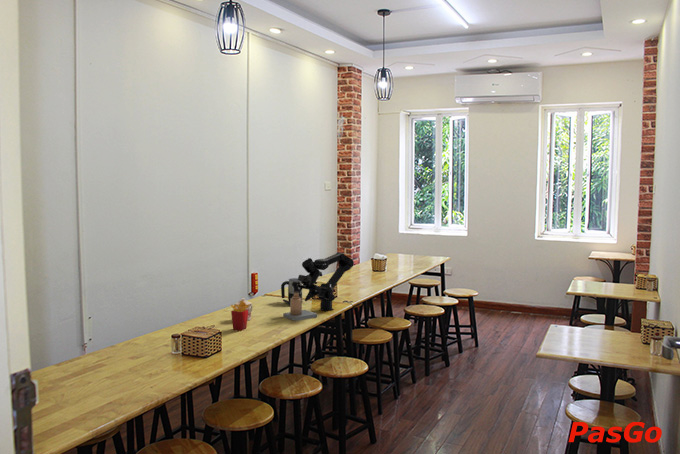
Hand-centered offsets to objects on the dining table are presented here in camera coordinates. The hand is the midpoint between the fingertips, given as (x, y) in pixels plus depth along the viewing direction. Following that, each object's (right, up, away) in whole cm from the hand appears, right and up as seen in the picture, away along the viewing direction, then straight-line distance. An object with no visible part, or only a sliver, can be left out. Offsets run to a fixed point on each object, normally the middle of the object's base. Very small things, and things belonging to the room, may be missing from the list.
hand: (299, 299), depth 309 cm
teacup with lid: (-30, -10, -5) cm, 32 cm away
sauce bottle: (-2, -8, -1) cm, 8 cm away
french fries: (-27, -12, -27) cm, 40 cm away
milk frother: (-7, -7, +35) cm, 37 cm away
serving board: (+1, -10, +1) cm, 10 cm away
